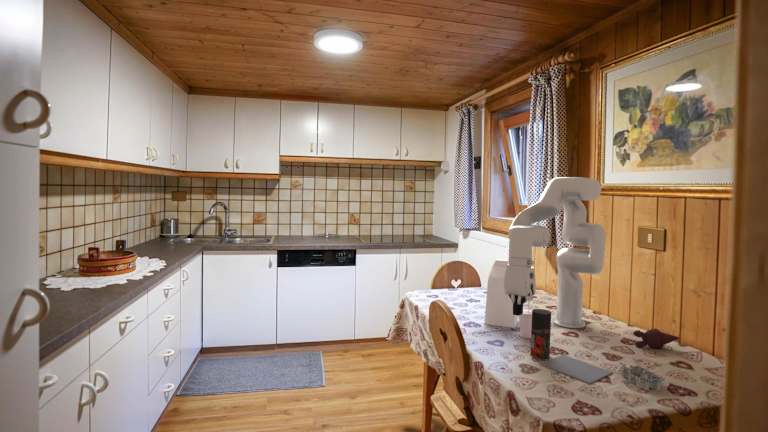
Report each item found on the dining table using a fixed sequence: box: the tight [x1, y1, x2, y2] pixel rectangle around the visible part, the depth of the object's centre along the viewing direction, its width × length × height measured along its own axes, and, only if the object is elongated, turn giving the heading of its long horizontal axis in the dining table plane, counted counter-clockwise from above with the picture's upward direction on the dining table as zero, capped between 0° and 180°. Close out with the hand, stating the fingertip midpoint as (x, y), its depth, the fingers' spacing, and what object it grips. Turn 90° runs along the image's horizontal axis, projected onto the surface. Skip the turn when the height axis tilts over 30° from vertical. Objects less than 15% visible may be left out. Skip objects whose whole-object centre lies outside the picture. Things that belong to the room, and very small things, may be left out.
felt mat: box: [539, 354, 614, 385], centre depth 126 cm, size 13×16×1 cm
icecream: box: [632, 328, 680, 350], centre depth 146 cm, size 7×7×15 cm
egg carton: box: [619, 361, 665, 391], centre depth 119 cm, size 11×8×4 cm
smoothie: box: [518, 301, 533, 339], centre depth 154 cm, size 6×6×14 cm
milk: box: [483, 259, 518, 329], centre depth 171 cm, size 12×12×26 cm
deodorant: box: [529, 308, 552, 361], centre depth 135 cm, size 6×6×15 cm
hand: (517, 314), depth 142 cm, fingers closed
